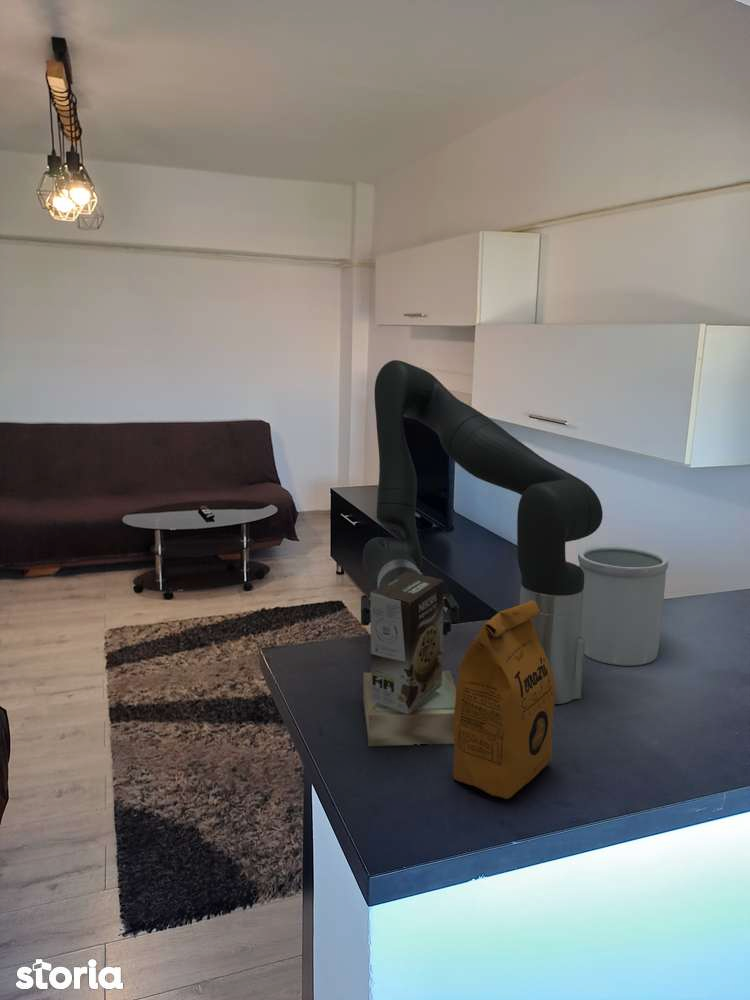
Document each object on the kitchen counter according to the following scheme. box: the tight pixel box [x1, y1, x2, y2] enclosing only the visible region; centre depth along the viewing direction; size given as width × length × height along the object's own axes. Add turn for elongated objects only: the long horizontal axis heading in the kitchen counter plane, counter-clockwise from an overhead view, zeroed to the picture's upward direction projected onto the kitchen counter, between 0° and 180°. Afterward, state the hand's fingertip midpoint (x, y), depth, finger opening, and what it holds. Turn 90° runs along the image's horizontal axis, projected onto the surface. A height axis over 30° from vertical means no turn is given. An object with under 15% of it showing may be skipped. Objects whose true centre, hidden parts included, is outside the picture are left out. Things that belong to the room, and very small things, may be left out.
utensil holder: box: [577, 544, 669, 667], centre depth 131 cm, size 15×15×18 cm
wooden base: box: [362, 670, 457, 747], centre depth 107 cm, size 13×13×5 cm
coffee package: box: [452, 601, 556, 800], centre depth 92 cm, size 10×12×22 cm
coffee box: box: [369, 572, 445, 714], centre depth 101 cm, size 9×6×16 cm
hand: (414, 629), depth 102 cm, fingers closed on coffee box, 8 cm apart
